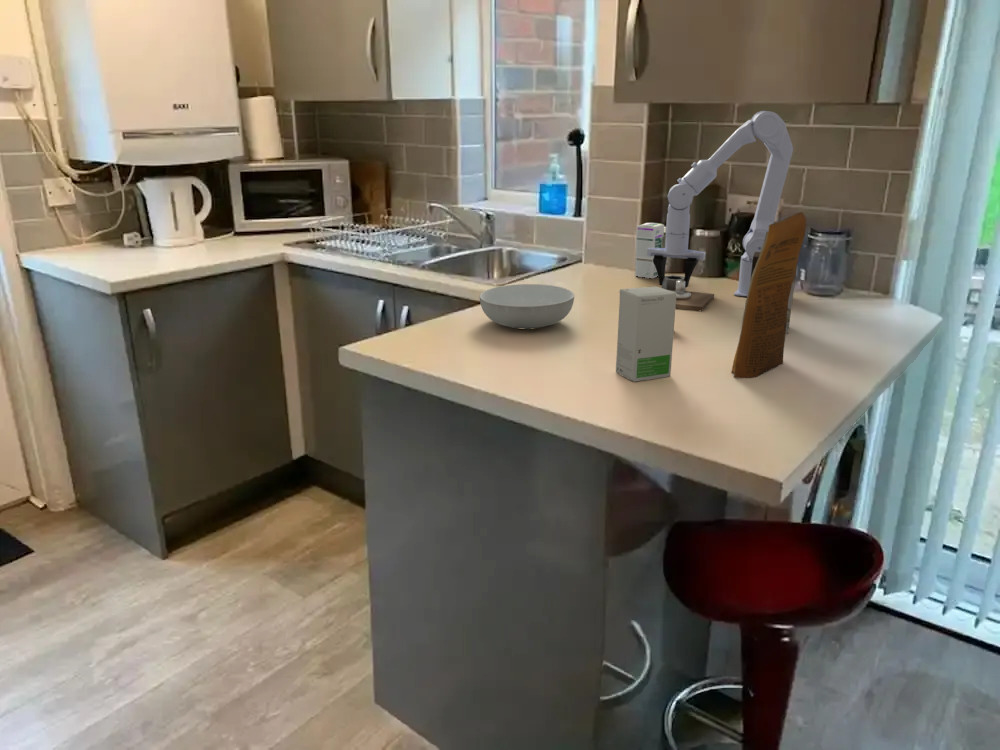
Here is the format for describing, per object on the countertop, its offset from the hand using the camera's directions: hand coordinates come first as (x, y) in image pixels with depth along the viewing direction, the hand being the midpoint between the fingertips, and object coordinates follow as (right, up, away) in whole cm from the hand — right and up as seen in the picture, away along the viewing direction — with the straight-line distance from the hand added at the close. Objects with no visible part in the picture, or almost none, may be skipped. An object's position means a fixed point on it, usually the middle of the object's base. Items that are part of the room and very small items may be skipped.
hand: (673, 285), depth 202 cm
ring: (0, -1, 0) cm, 1 cm away
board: (-1, -5, -10) cm, 11 cm away
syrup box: (-3, +5, +18) cm, 19 cm away
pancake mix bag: (+3, -22, -58) cm, 62 cm away
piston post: (-1, -5, -10) cm, 11 cm away
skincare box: (-19, -23, -60) cm, 67 cm away
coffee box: (+13, -13, -33) cm, 38 cm away
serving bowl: (-39, -12, -28) cm, 49 cm away
